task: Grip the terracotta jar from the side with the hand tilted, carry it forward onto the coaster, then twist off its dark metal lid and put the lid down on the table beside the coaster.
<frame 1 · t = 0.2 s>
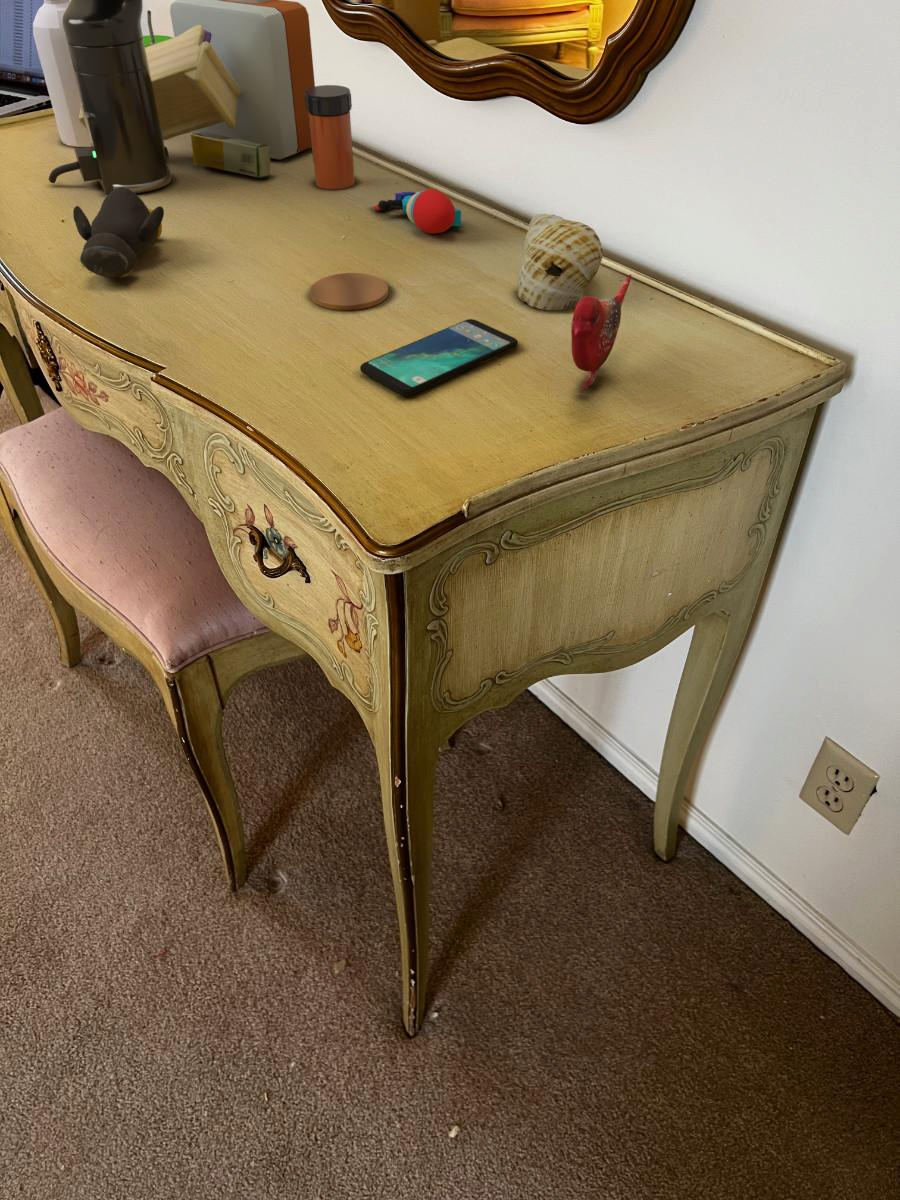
decorative bird figurine: (596, 375, 87), on the table
toy figure: (421, 225, 116), on the table
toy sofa: (157, 125, 127), point 6 cm above the table, touching medication box
cup: (163, 112, 154), on the table
soap bottle: (89, 141, 142), on the table
medication box: (233, 172, 131), on the table, touching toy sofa
smartphone: (440, 361, 89), on the table
lid: (327, 93, 120), point 11 cm above the table, screwed on, not yet turned
jar: (335, 182, 127), on the table
seashell: (555, 290, 101), on the table
coaster: (349, 293, 100), on the table
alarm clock: (256, 146, 140), on the table
toy: (135, 207, 110), point 4 cm above the table
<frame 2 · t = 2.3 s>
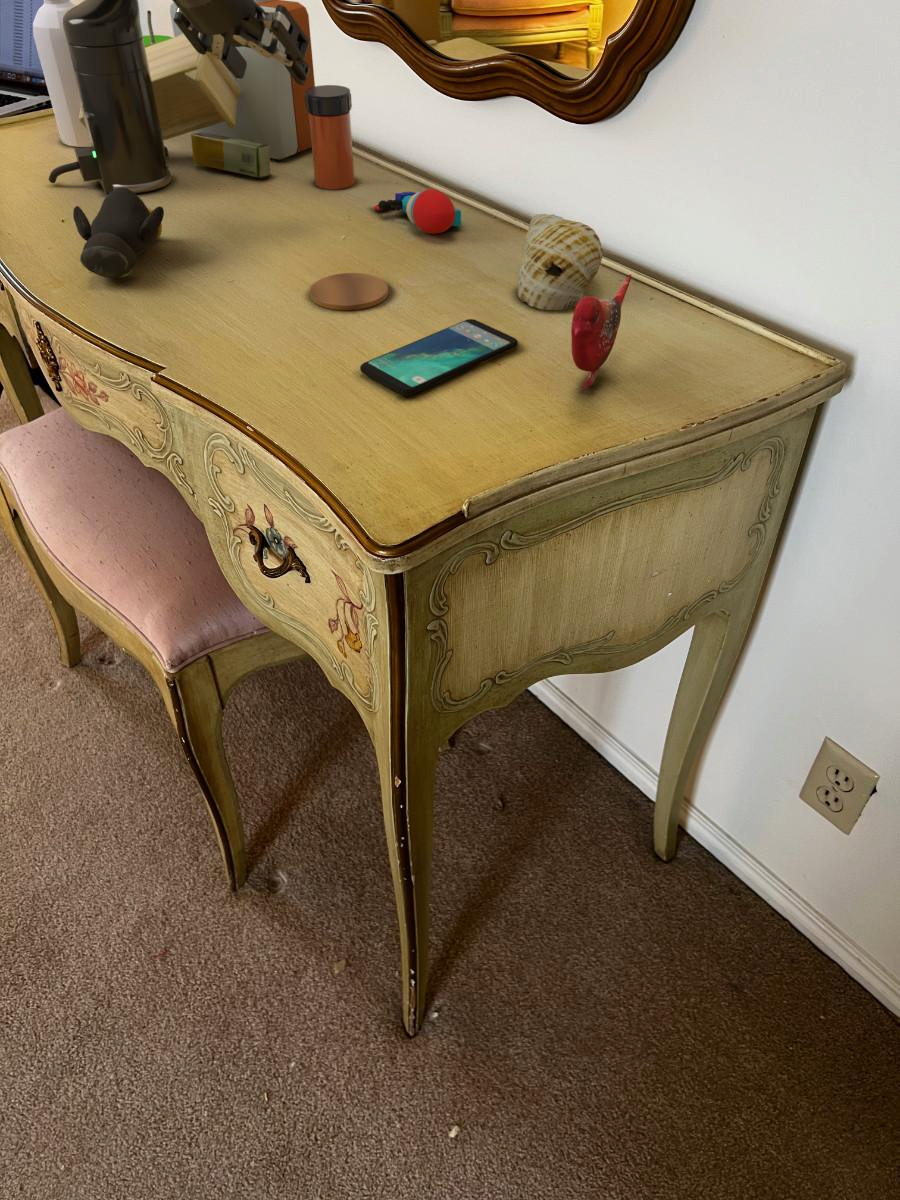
hand: (272, 74, 109), 16 cm above the table, tool tilted 45°, fingers open, 8 cm apart
nothing on the table moved.
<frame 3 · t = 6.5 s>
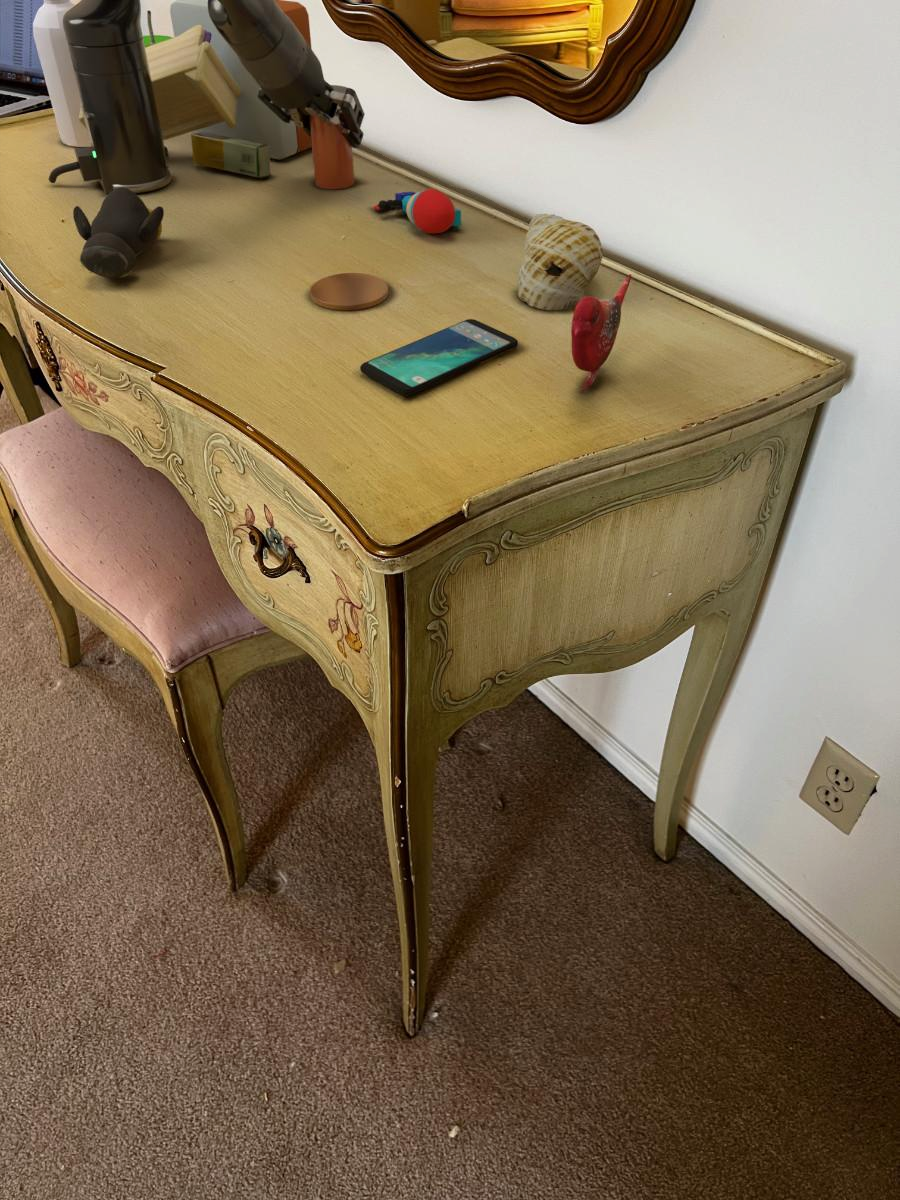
hand: (338, 138, 125), 5 cm above the table, tool tilted 45°, fingers closed on jar, 5 cm apart
jar: (335, 182, 127), on the table, touching gripper
everything else where it was.
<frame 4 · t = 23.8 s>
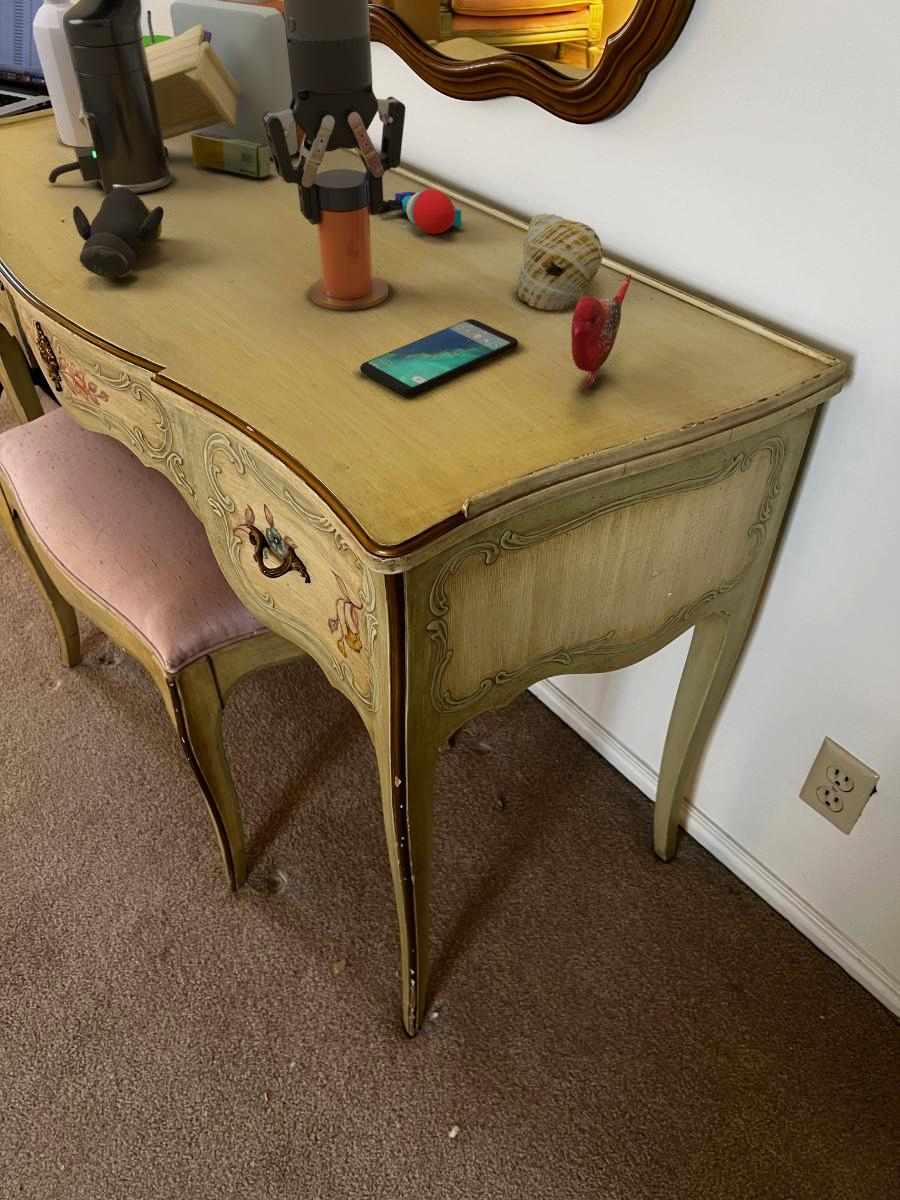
hand: (342, 216, 95), 8 cm above the table, tool pointing down, fingers closed on lid, 5 cm apart
lid: (340, 181, 92), point 12 cm above the table, screwed on, not yet turned, touching gripper
jar: (348, 288, 100), point 1 cm above the table, touching coaster
everything else where it was.
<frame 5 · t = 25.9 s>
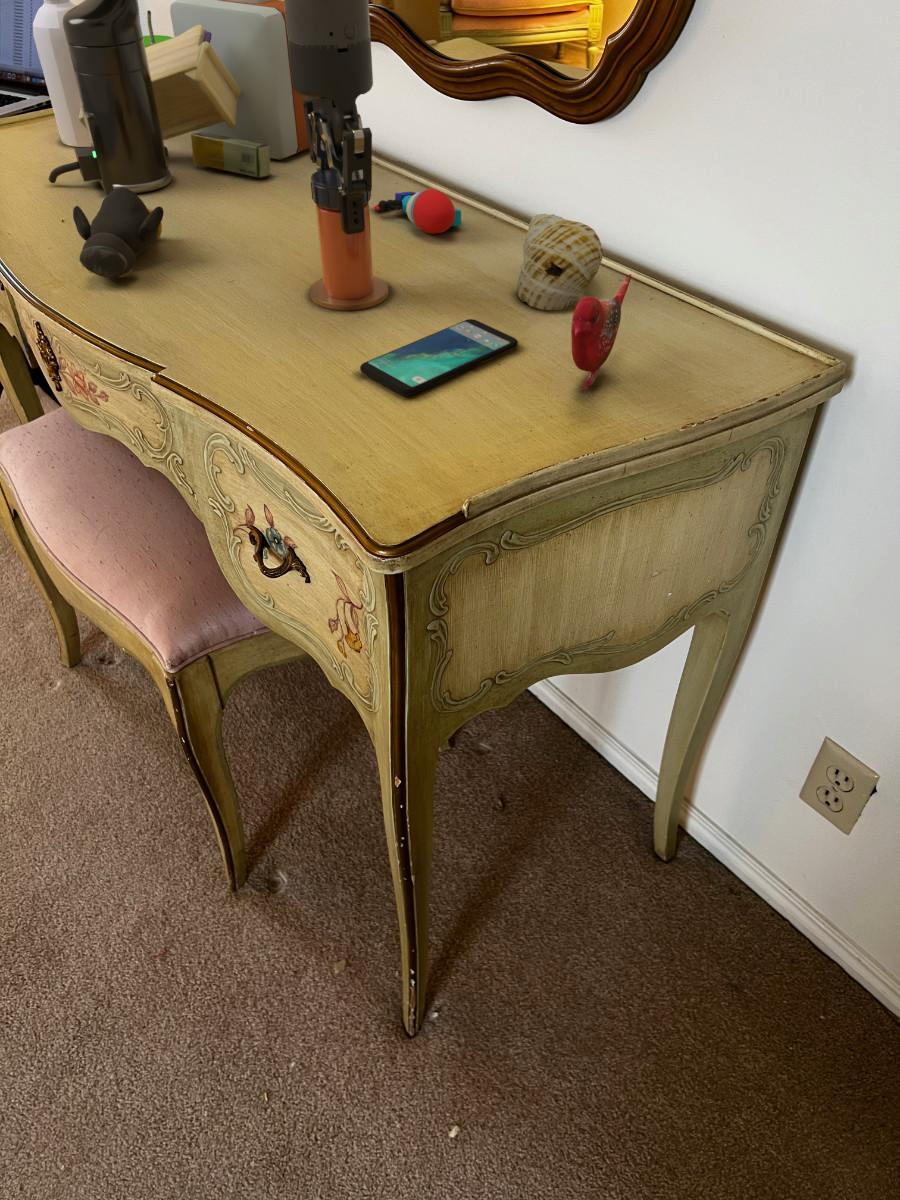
hand: (344, 221, 95), 8 cm above the table, tool pointing down, fingers closed on lid, 5 cm apart
lid: (340, 179, 92), point 12 cm above the table, turned 89° so far, risen 0.2 cm, still on its thread, touching gripper
jar: (348, 289, 100), point 1 cm above the table, touching coaster, gripper
everything else where it was.
when the fingers open (8 cm above the table, at t = 26.3 s): lid stays where it is, point 12 cm above the table.
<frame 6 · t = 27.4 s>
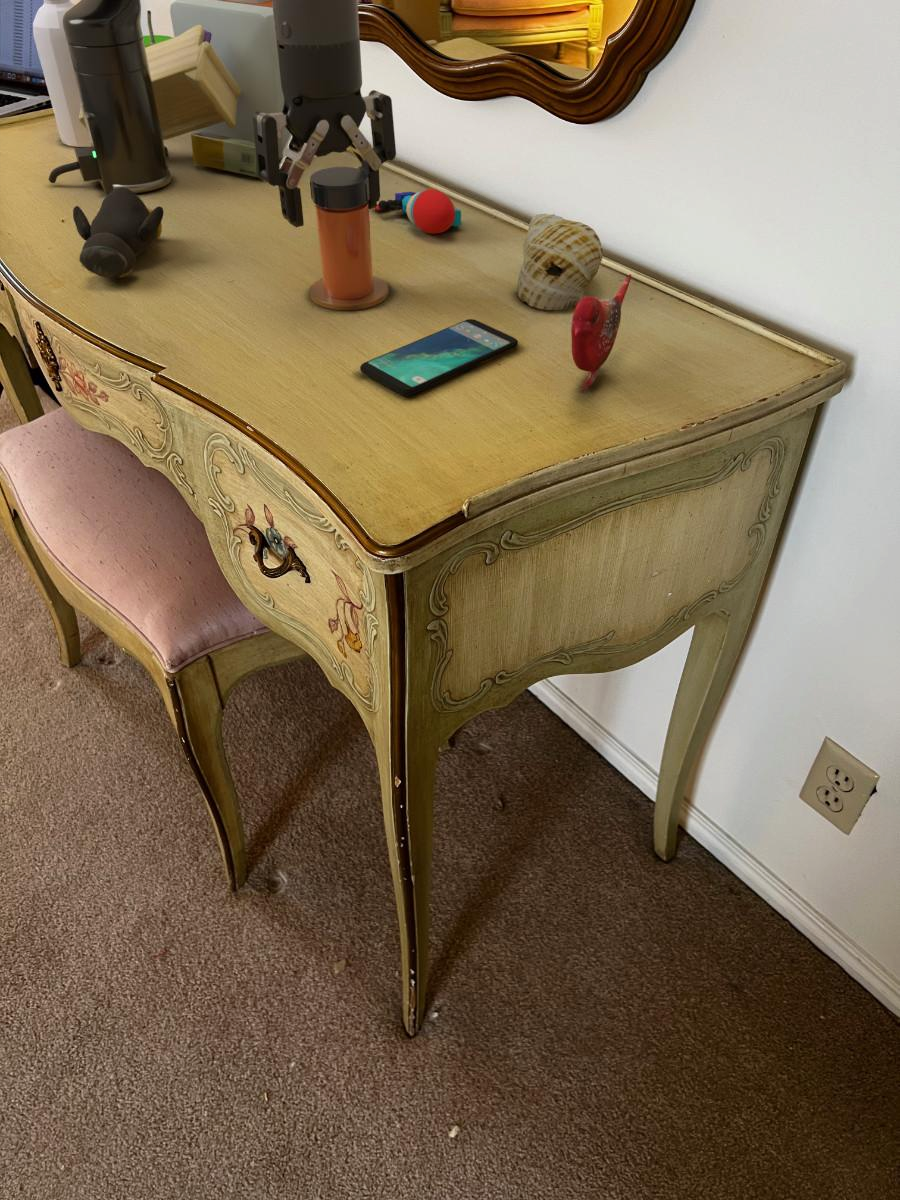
hand: (332, 215, 94), 9 cm above the table, tool pointing down, fingers open, 8 cm apart
lid: (339, 179, 92), point 12 cm above the table, turned 88° so far, risen 0.2 cm, still on its thread, touching gripper
jar: (348, 288, 100), point 1 cm above the table, touching coaster
everything else where it was.
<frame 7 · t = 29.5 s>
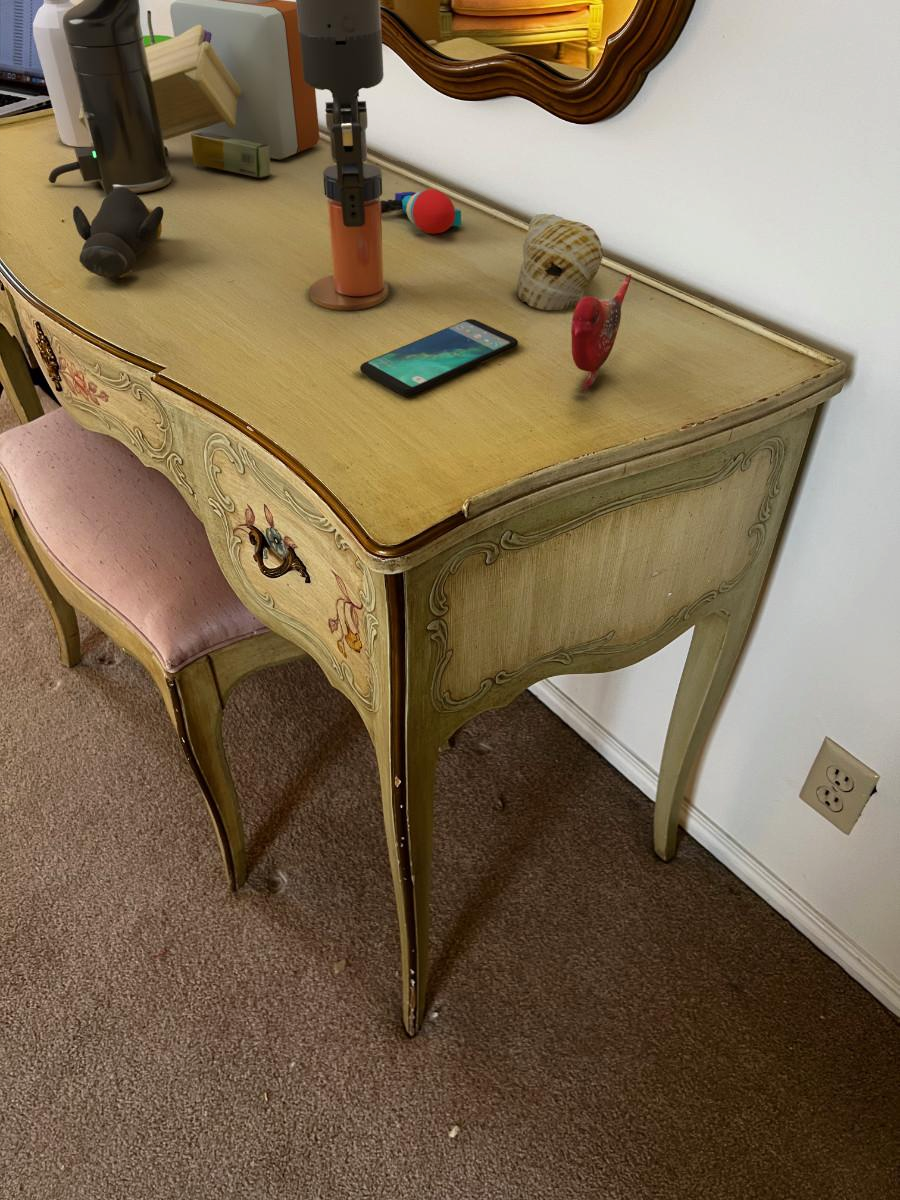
hand: (353, 213, 95), 8 cm above the table, tool pointing down, fingers closed on lid, 5 cm apart
lid: (352, 174, 93), point 12 cm above the table, turned 139° so far, risen 0.4 cm, still on its thread, touching gripper
jar: (359, 286, 100), point 1 cm above the table, touching coaster, gripper
everything else where it was.
when the fingers open (2 cm above the table, at t = 38.5 s): lid drops 4 cm, point 2 cm above the table.
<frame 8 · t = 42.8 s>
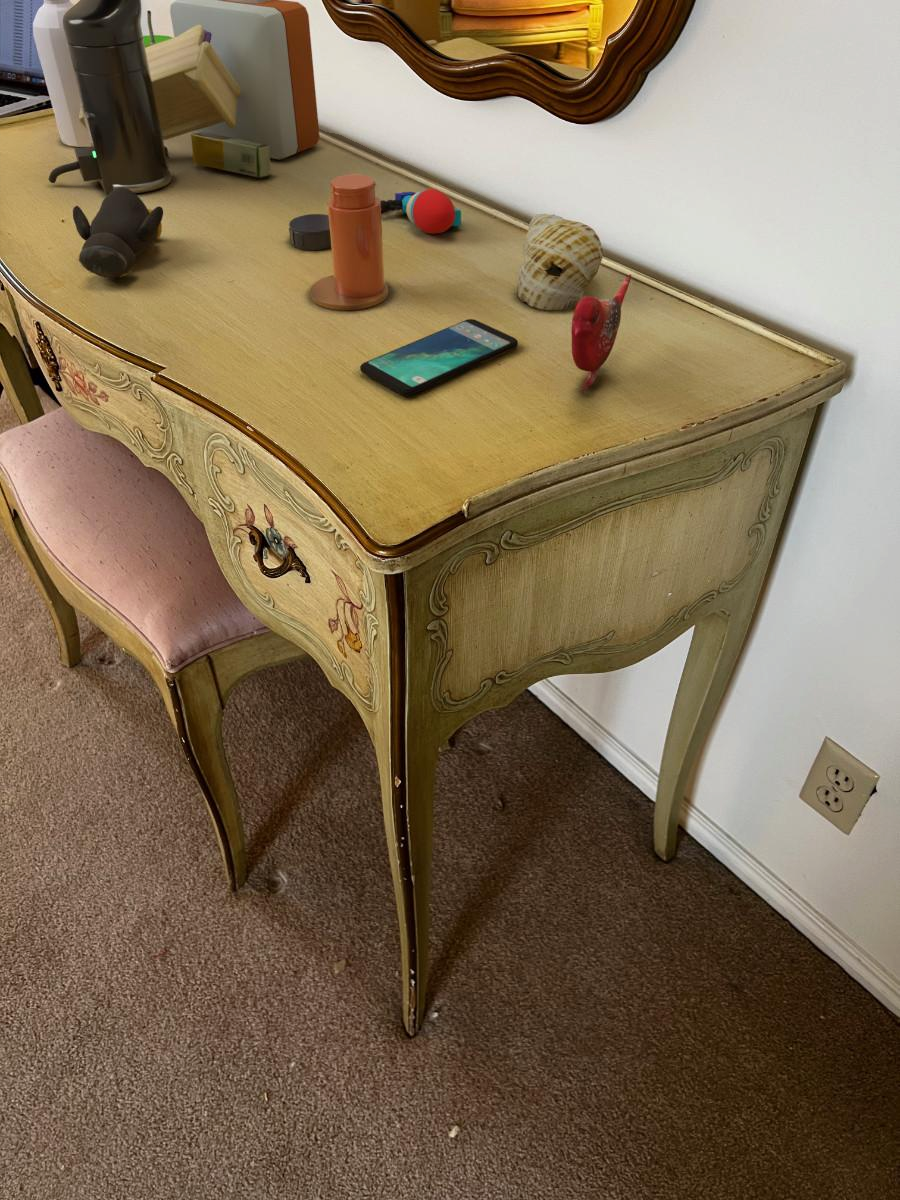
lid: (314, 225, 110), point 2 cm above the table, off its thread
jar: (359, 287, 100), point 1 cm above the table, touching coaster
everything else where it was.
at the end: jar 1.1 cm off-centre on the coaster, point 0.6 cm above the coaster's base; lid inside the target area (0.2 cm from its centre), point 1.9 cm above the table; the gripper is holding nothing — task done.
